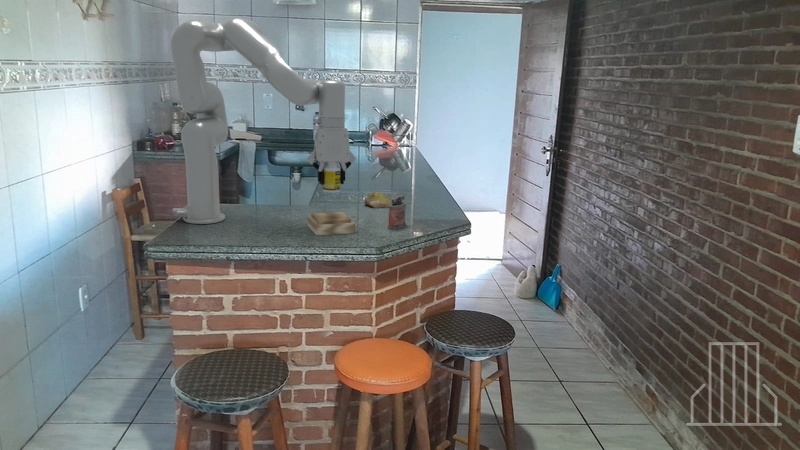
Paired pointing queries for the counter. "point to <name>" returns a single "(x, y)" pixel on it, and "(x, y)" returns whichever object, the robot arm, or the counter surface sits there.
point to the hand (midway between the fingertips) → (331, 183)
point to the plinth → (330, 223)
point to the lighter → (397, 213)
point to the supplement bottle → (331, 177)
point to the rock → (378, 200)
